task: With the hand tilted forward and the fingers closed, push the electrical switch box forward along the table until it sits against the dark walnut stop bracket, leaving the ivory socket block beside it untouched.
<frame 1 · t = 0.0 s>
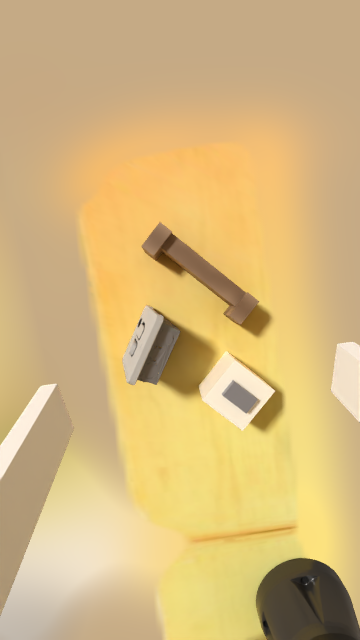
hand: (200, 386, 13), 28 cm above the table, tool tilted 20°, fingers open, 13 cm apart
stop bracket: (201, 272, 40), on the table
electrical switch: (151, 337, 41), on the table
socket block: (229, 381, 41), on the table
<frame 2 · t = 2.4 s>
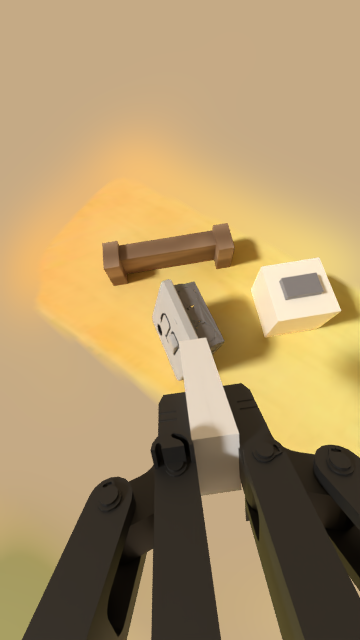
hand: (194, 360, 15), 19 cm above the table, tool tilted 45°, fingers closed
stop bracket: (169, 259, 39), on the table
electrical switch: (182, 340, 35), on the table
socket block: (282, 308, 35), on the table
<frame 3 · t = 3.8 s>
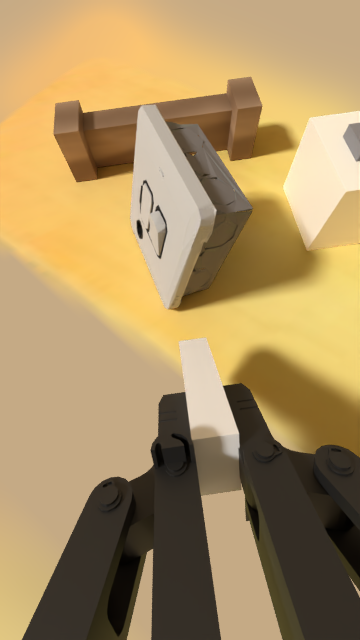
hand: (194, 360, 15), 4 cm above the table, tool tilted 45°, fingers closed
stop bracket: (160, 149, 26), on the table
electrical switch: (177, 255, 22), on the table
socket block: (333, 212, 23), on the table
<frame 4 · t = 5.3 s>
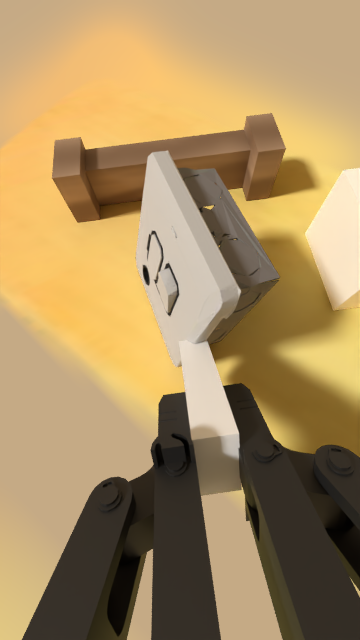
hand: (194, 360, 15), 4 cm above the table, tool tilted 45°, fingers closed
stop bracket: (169, 186, 24), on the table
electrical switch: (186, 299, 20), on the table, touching gripper
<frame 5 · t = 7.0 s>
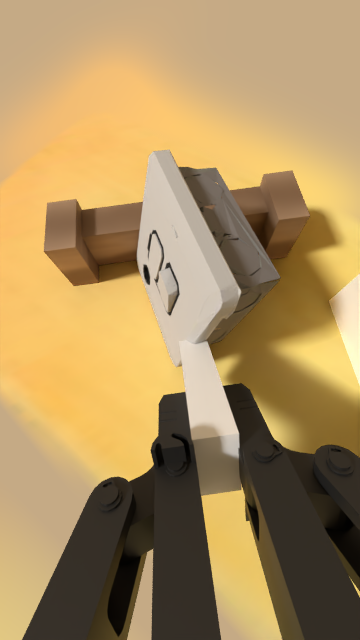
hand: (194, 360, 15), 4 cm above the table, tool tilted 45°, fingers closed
stop bracket: (176, 242, 22), on the table
electrical switch: (186, 299, 20), on the table, touching gripper, stop bracket
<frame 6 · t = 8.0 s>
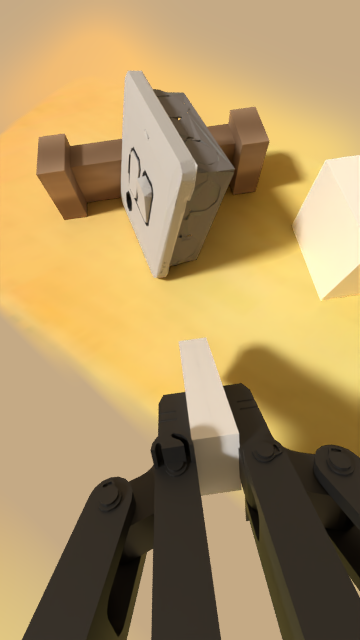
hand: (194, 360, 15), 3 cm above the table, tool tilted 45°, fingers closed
stop bracket: (156, 182, 24), on the table
electrical switch: (166, 228, 23), on the table
socket block: (347, 254, 21), on the table
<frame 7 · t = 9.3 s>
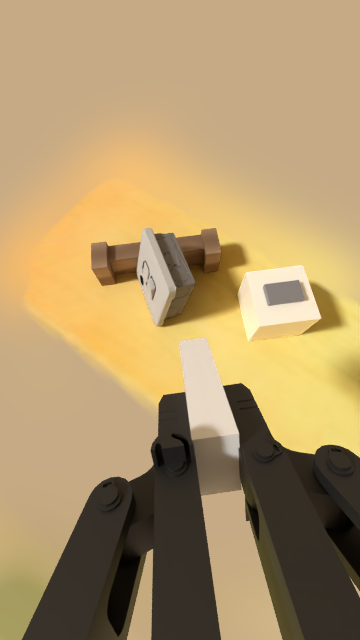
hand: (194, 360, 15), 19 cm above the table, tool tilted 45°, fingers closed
stop bracket: (158, 262, 39), on the table
electrical switch: (163, 293, 38), on the table
socket block: (267, 314, 36), on the table
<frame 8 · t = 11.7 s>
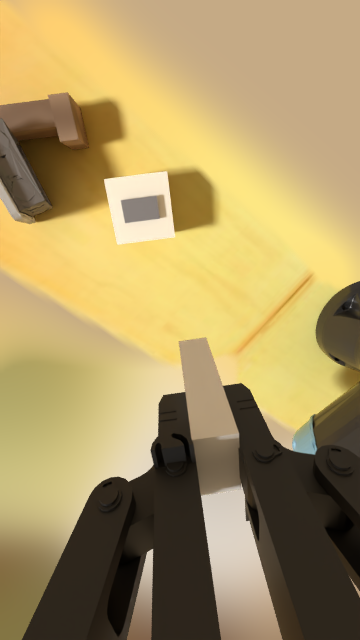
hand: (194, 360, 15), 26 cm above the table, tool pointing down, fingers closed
stop bracket: (11, 129, 31), on the table
electrical switch: (29, 178, 34), on the table
socket block: (144, 209, 36), on the table
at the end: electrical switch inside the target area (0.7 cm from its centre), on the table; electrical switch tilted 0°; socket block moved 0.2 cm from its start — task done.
